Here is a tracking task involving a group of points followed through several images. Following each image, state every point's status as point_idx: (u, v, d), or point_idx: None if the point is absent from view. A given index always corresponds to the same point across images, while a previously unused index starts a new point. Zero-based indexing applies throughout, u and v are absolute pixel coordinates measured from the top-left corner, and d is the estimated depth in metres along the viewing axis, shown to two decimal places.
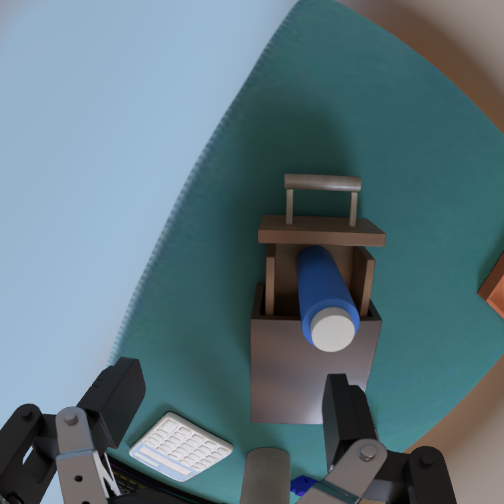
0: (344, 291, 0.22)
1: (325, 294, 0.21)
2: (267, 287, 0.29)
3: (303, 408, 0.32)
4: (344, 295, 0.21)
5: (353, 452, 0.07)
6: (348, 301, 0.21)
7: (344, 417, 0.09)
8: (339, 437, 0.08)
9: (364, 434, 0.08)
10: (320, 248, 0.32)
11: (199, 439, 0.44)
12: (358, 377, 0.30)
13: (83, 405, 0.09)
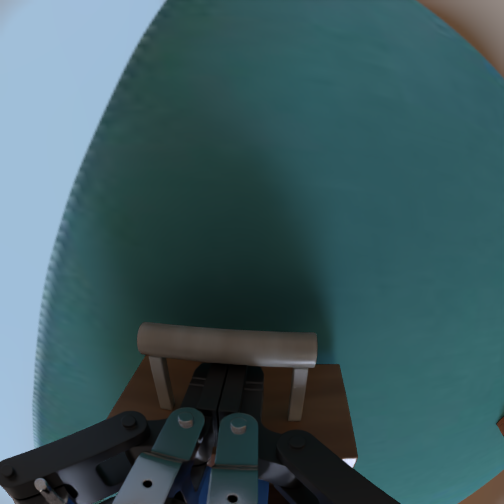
0: None
1: None
2: None
3: None
4: None
5: (225, 422, 0.09)
6: None
7: (230, 392, 0.10)
8: (219, 408, 0.09)
9: (248, 411, 0.10)
10: None
11: None
12: None
13: (188, 406, 0.10)
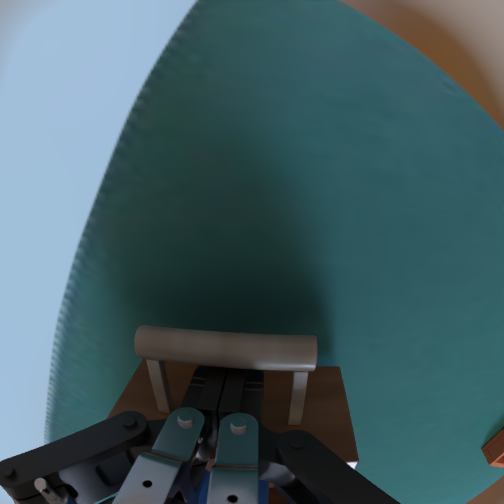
0: None
1: None
2: None
3: None
4: None
5: (225, 422, 0.09)
6: None
7: (230, 392, 0.10)
8: (219, 408, 0.09)
9: (249, 410, 0.10)
10: None
11: None
12: None
13: (188, 406, 0.10)
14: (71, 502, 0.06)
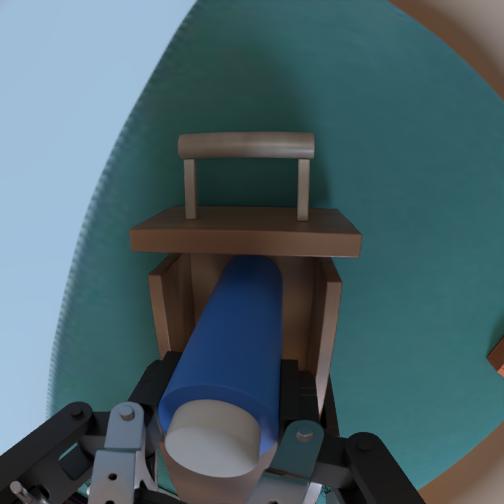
0: (253, 358, 0.10)
1: (201, 368, 0.09)
2: (156, 323, 0.17)
3: None
4: (245, 371, 0.10)
5: (290, 431, 0.08)
6: (248, 390, 0.09)
7: (288, 399, 0.10)
8: (280, 417, 0.09)
9: (307, 417, 0.09)
10: (256, 258, 0.20)
11: None
12: None
13: (134, 401, 0.10)
14: (46, 501, 0.05)
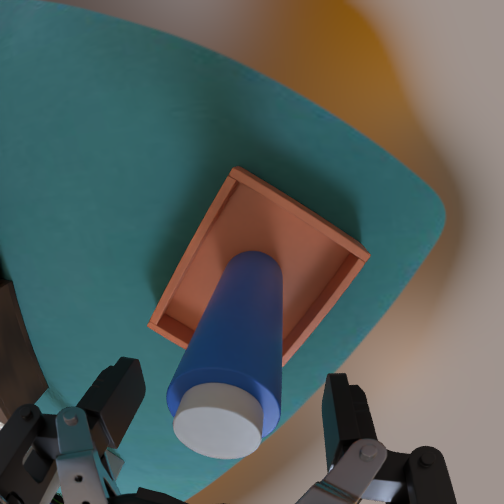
0: (256, 345, 0.11)
1: (207, 353, 0.10)
2: None
3: None
4: (248, 356, 0.10)
5: (353, 452, 0.07)
6: (252, 373, 0.10)
7: (344, 417, 0.09)
8: (339, 437, 0.08)
9: (364, 434, 0.08)
10: (257, 255, 0.21)
11: None
12: None
13: (83, 405, 0.09)
14: None
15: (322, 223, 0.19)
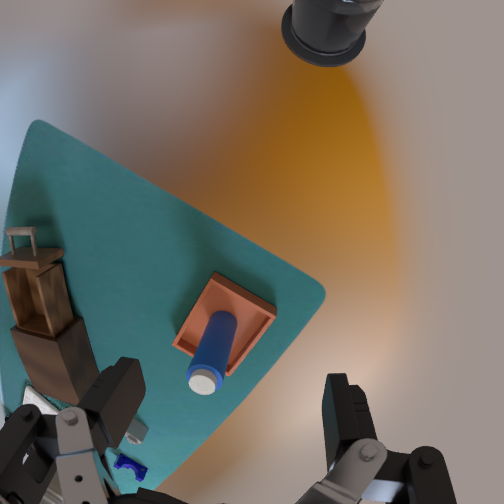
0: (215, 357, 0.34)
1: (199, 360, 0.33)
2: (6, 289, 0.40)
3: (50, 387, 0.44)
4: (212, 361, 0.33)
5: (353, 452, 0.07)
6: (212, 366, 0.32)
7: (344, 417, 0.09)
8: (339, 437, 0.08)
9: (364, 434, 0.08)
10: (224, 314, 0.43)
11: (44, 406, 0.57)
12: (64, 375, 0.43)
13: (83, 406, 0.09)
14: None
15: (252, 302, 0.41)
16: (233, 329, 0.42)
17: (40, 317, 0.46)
